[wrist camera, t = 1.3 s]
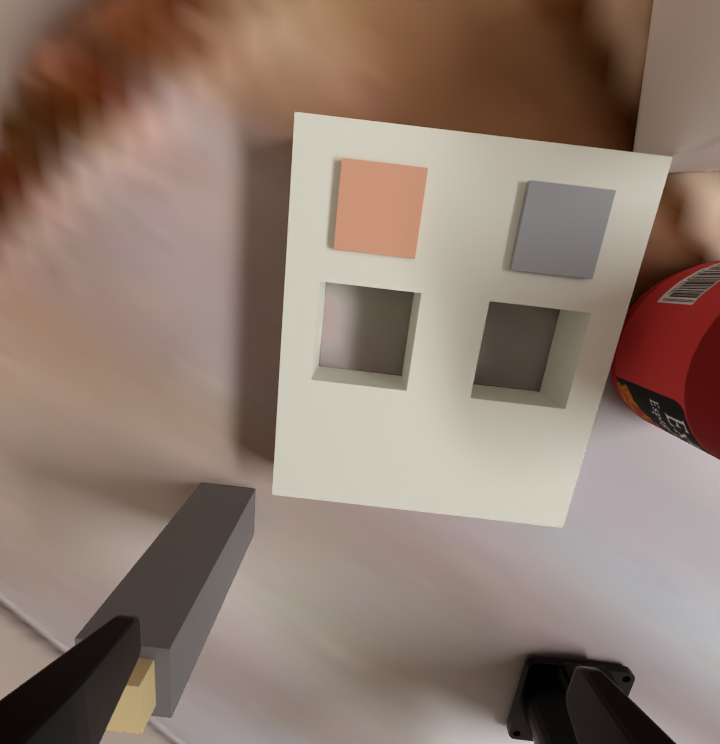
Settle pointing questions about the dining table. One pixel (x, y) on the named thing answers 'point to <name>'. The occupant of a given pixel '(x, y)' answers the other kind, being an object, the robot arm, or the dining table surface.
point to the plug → (177, 598)
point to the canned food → (675, 356)
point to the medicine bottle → (682, 86)
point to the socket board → (454, 312)
